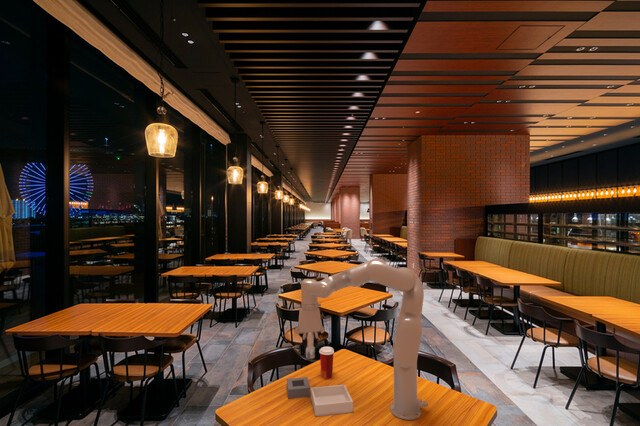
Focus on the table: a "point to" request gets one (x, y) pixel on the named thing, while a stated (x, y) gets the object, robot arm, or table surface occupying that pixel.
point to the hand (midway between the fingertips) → (310, 346)
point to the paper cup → (326, 362)
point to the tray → (331, 400)
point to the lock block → (298, 387)
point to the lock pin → (310, 345)
